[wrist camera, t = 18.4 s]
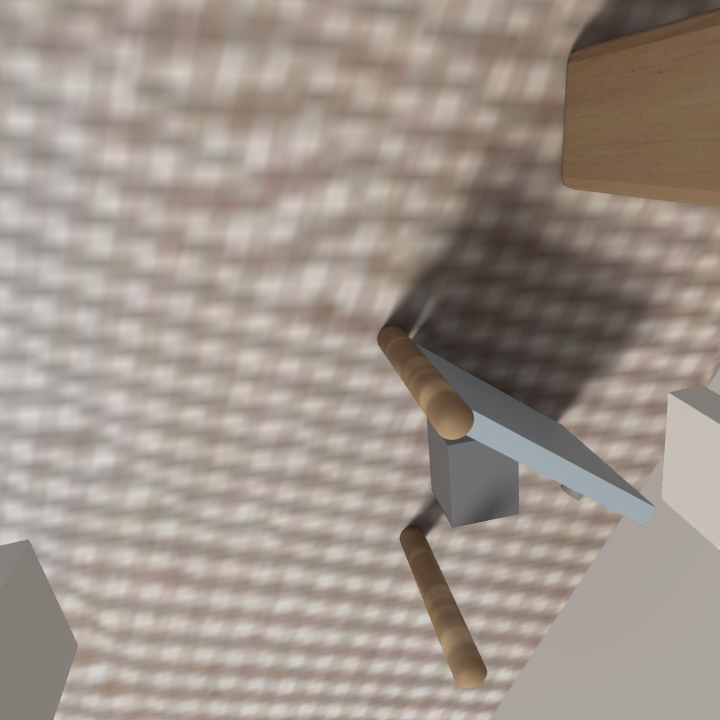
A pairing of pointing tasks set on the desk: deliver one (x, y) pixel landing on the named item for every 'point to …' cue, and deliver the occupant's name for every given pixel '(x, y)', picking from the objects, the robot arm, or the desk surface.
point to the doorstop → (472, 479)
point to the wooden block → (647, 114)
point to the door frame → (447, 620)
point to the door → (541, 444)
